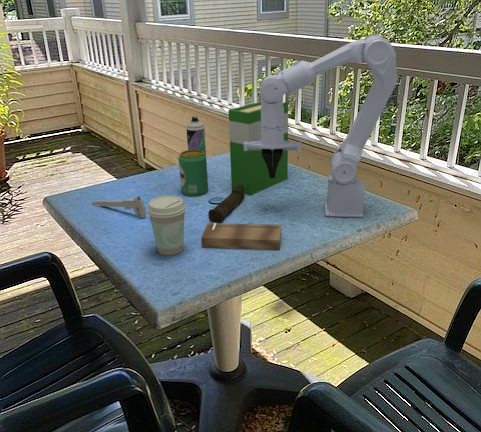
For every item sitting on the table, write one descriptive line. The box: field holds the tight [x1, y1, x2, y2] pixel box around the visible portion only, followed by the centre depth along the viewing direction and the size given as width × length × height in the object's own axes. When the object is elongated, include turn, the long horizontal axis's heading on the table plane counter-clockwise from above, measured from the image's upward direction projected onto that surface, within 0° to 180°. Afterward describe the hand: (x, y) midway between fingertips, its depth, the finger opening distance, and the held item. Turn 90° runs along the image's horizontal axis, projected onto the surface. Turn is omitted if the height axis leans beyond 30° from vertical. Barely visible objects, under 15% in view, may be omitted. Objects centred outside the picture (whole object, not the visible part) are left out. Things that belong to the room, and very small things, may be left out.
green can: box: [178, 149, 209, 197], centre depth 142 cm, size 8×8×12 cm
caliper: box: [91, 195, 147, 219], centre depth 132 cm, size 20×1×6 cm, turn 57°
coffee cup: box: [146, 195, 187, 256], centre depth 109 cm, size 9×8×12 cm
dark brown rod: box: [207, 184, 245, 223], centre depth 131 cm, size 19×4×5 cm, turn 154°
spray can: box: [186, 115, 209, 179], centre depth 150 cm, size 6×6×20 cm
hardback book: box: [228, 101, 289, 197], centre depth 143 cm, size 18×7×24 cm, turn 137°
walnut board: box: [200, 222, 282, 251], centre depth 114 cm, size 18×8×3 cm, turn 83°
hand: (272, 176), depth 127 cm, fingers closed
